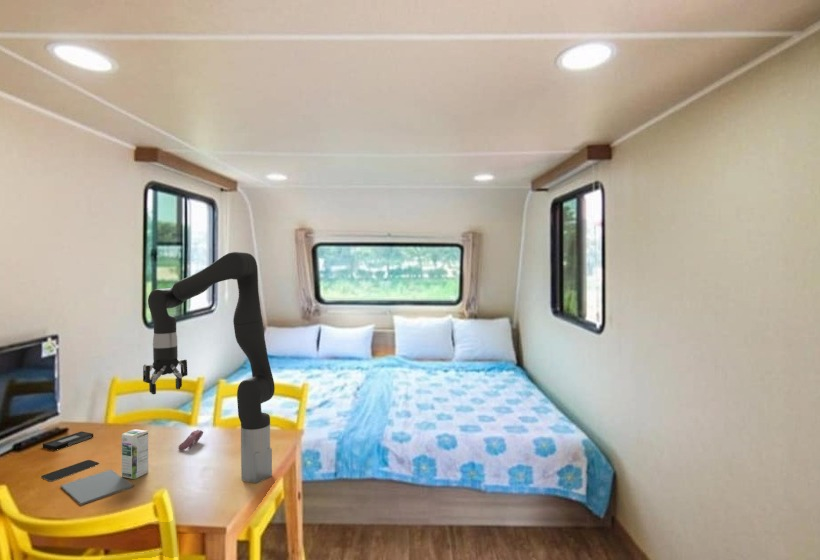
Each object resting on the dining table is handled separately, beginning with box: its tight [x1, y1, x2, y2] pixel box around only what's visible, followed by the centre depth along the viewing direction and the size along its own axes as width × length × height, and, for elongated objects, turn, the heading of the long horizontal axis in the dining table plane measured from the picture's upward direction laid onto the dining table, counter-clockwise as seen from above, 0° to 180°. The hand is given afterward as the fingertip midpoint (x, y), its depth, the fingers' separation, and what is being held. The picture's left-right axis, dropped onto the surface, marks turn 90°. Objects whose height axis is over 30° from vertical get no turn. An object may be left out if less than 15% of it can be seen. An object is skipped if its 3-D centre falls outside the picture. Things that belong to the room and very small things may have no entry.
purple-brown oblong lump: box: [178, 429, 204, 451], centre depth 176 cm, size 10×5×7 cm, turn 179°
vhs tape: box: [42, 430, 94, 451], centre depth 179 cm, size 8×14×2 cm, turn 159°
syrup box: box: [121, 428, 149, 480], centre depth 151 cm, size 6×6×14 cm
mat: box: [60, 469, 134, 506], centre depth 143 cm, size 18×14×1 cm
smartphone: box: [40, 459, 100, 482], centre depth 155 cm, size 7×1×15 cm
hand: (166, 391), depth 159 cm, fingers open, 8 cm apart
